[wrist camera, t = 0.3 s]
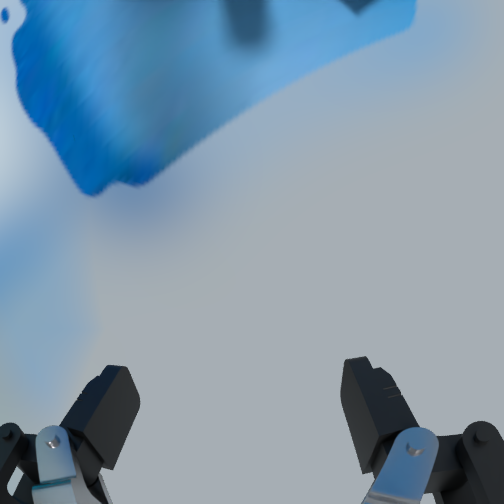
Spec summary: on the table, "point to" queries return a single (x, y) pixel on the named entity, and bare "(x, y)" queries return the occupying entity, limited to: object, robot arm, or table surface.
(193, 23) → the table surface
